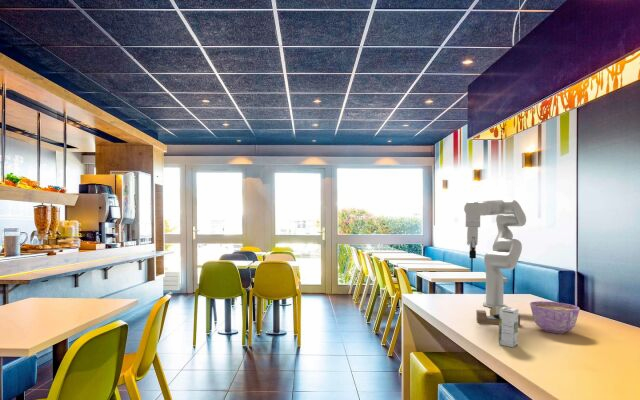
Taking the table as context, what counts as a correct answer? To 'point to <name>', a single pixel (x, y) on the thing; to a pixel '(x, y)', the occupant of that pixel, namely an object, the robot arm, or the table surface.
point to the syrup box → (508, 326)
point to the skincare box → (496, 311)
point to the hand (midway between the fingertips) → (472, 258)
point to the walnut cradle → (489, 318)
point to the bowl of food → (554, 316)
